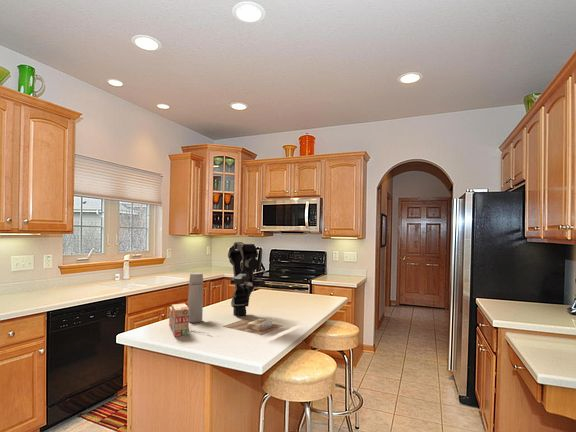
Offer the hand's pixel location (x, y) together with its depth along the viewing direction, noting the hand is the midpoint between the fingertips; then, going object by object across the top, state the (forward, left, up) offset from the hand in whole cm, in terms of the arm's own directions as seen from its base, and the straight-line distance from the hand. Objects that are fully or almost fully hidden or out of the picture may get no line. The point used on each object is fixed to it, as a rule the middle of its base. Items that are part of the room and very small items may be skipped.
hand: (247, 298), depth 174 cm
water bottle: (-27, -11, -13) cm, 32 cm away
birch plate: (+12, -5, -12) cm, 17 cm away
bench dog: (+16, -5, -12) cm, 20 cm away
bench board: (+8, -5, -13) cm, 16 cm away
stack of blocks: (-21, -26, -13) cm, 36 cm away
